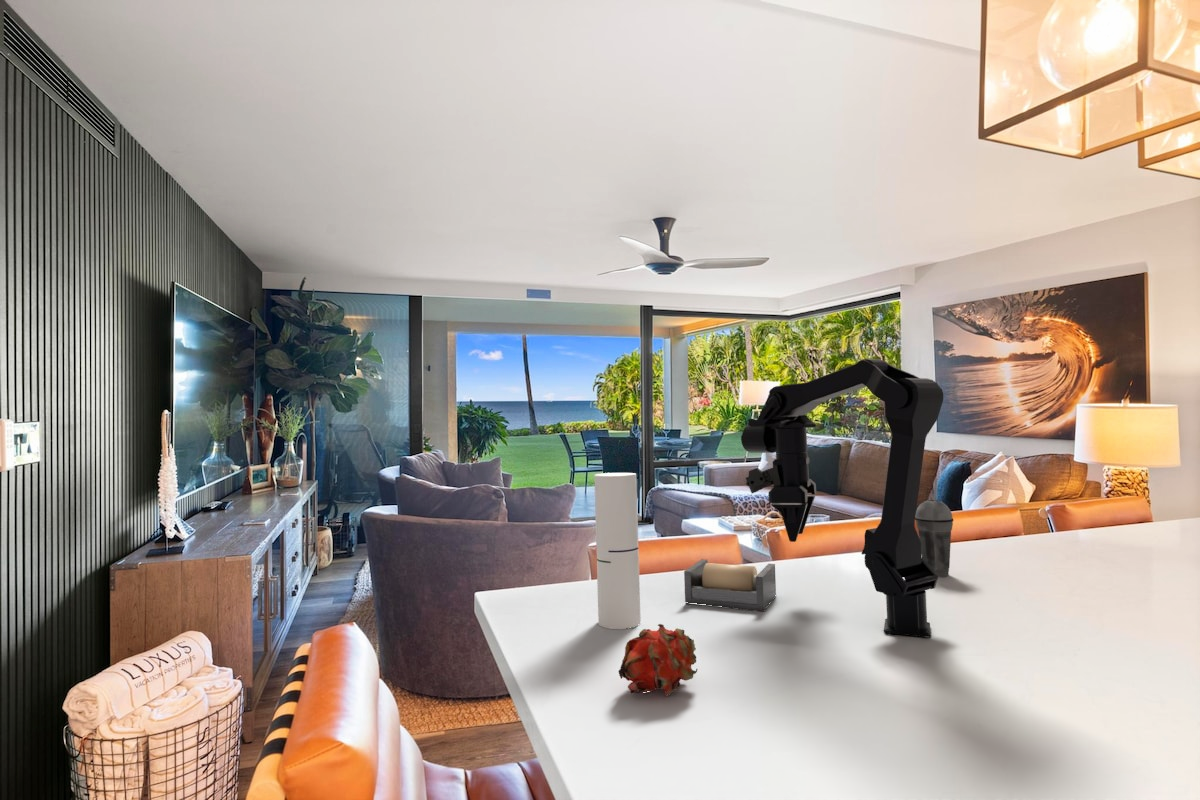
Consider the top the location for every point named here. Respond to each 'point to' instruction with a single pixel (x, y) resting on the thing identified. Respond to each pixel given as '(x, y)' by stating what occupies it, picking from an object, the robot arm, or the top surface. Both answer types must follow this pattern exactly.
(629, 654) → the dragon fruit
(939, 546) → the beverage cup
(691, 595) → the cradle
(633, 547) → the cylindrical container
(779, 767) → the top surface
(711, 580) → the paper roll
